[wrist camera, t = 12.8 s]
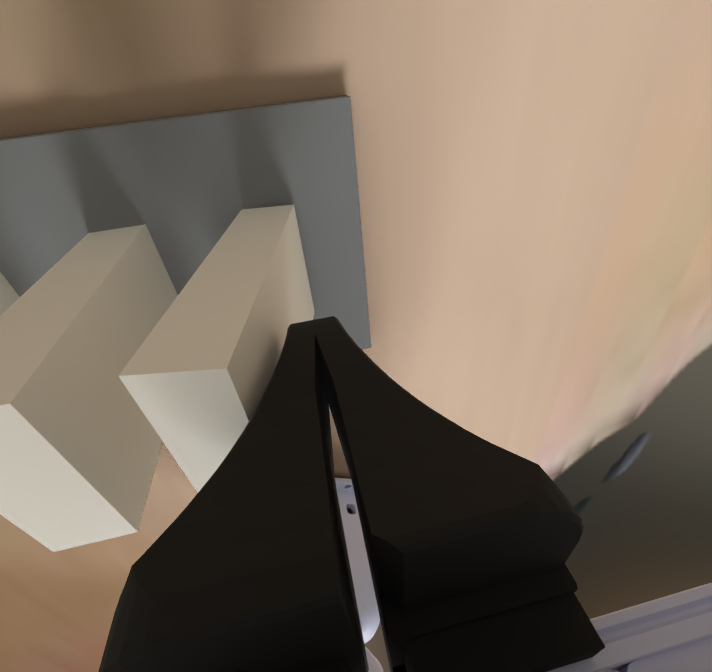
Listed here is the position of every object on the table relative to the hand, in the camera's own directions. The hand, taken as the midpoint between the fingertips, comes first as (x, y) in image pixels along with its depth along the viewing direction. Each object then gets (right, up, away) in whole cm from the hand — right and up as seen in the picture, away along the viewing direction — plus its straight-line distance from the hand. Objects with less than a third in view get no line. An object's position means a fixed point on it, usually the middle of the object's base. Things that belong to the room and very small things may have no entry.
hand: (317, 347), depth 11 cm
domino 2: (-2, +3, +5) cm, 6 cm away
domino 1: (-7, +2, +4) cm, 9 cm away
